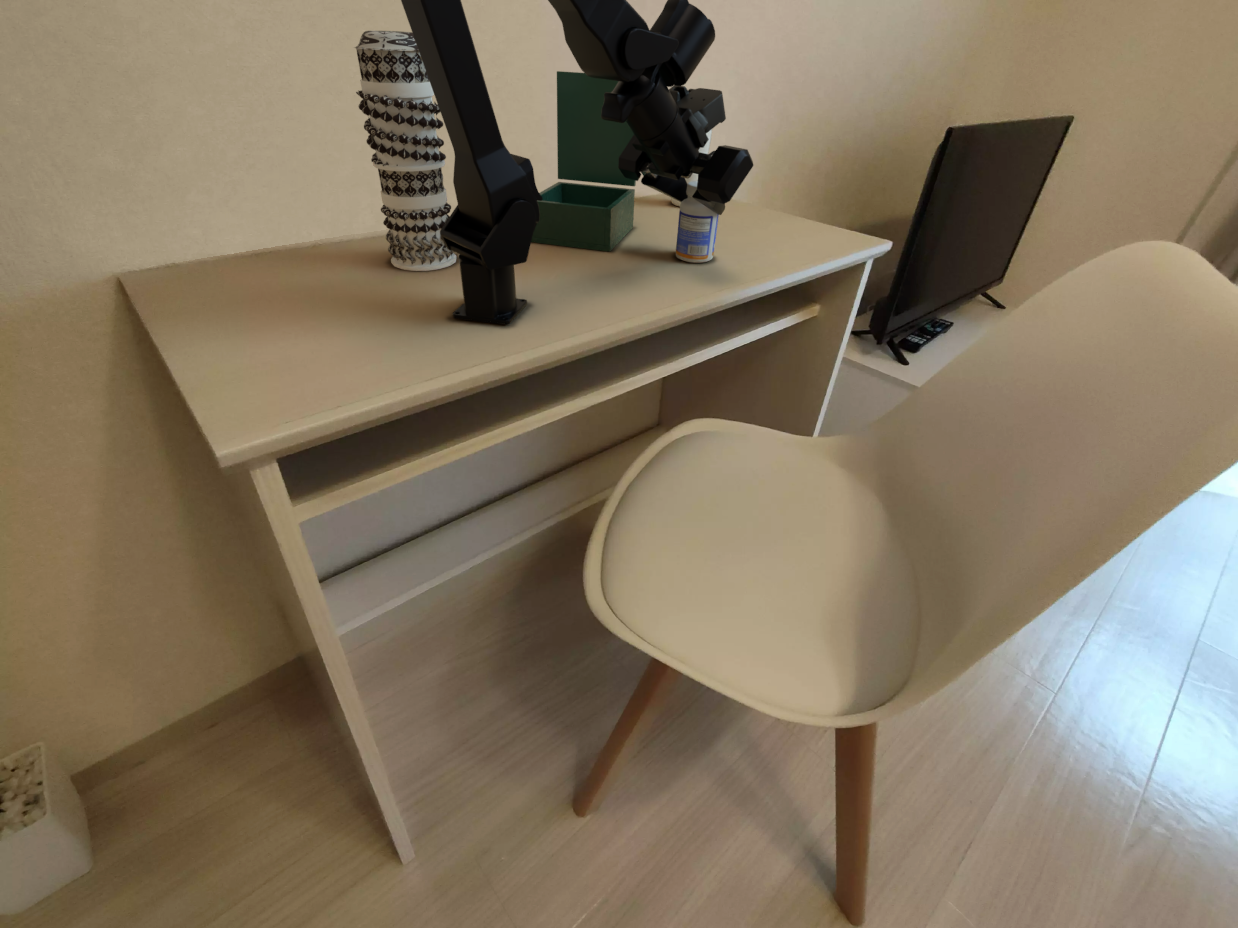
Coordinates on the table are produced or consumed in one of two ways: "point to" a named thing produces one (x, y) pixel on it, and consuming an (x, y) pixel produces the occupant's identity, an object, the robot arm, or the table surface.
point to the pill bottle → (695, 229)
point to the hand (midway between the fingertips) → (706, 207)
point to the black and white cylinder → (405, 148)
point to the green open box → (584, 216)
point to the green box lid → (588, 131)
